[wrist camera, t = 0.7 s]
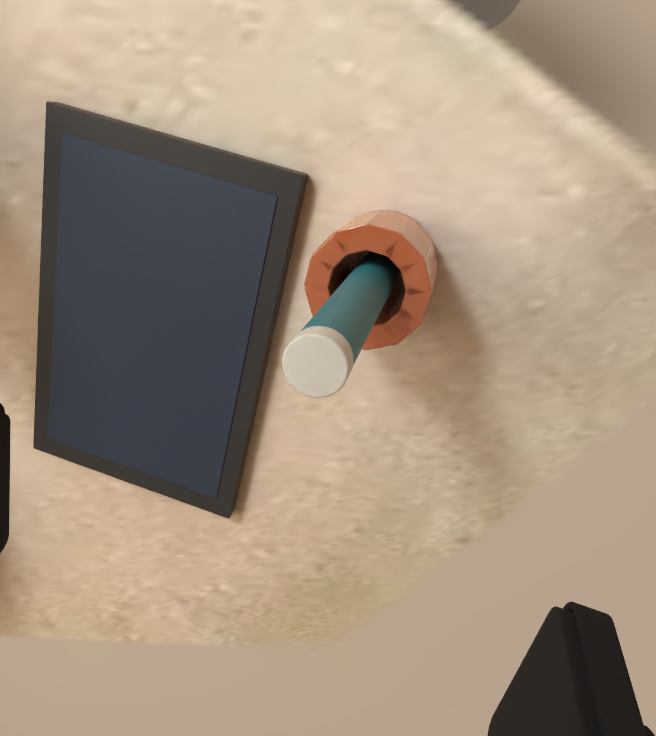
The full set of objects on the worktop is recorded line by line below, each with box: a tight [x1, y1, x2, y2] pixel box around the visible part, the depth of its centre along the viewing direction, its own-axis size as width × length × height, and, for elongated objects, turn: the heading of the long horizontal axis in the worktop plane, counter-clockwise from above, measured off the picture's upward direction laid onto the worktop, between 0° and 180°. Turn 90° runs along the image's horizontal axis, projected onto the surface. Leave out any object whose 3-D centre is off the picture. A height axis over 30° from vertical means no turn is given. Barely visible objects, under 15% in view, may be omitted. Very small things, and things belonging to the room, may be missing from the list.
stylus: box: [282, 251, 400, 398], centre depth 21 cm, size 2×2×13 cm
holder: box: [305, 210, 438, 350], centre depth 26 cm, size 5×5×5 cm
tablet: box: [34, 102, 308, 518], centre depth 31 cm, size 20×13×1 cm, turn 166°
